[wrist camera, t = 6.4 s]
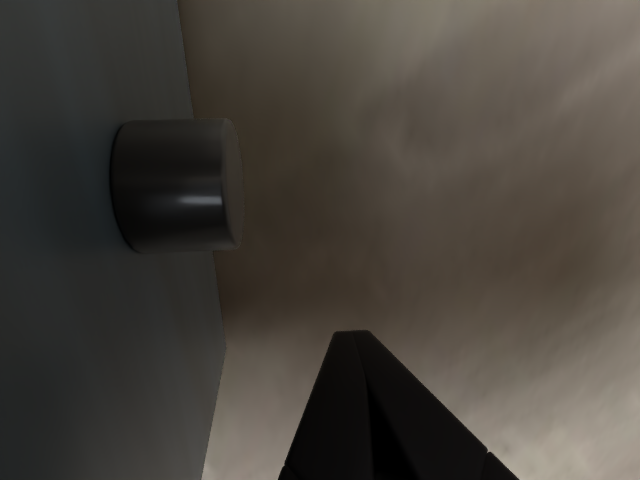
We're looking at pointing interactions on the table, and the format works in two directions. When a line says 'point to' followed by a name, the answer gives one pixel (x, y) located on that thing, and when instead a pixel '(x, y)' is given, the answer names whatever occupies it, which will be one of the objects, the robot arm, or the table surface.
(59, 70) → the drawer
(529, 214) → the table surface
